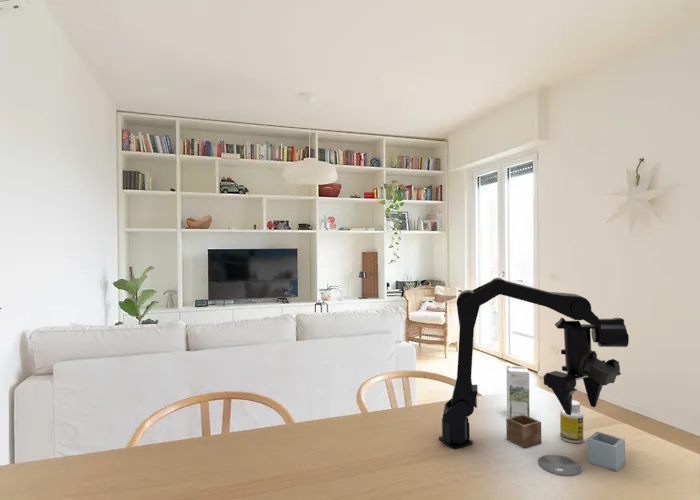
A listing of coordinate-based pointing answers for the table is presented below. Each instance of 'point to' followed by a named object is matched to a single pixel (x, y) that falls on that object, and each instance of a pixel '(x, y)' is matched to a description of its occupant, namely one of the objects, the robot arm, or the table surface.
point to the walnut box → (523, 430)
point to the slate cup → (606, 451)
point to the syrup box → (517, 391)
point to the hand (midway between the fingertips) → (581, 410)
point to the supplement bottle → (572, 424)
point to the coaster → (559, 465)
